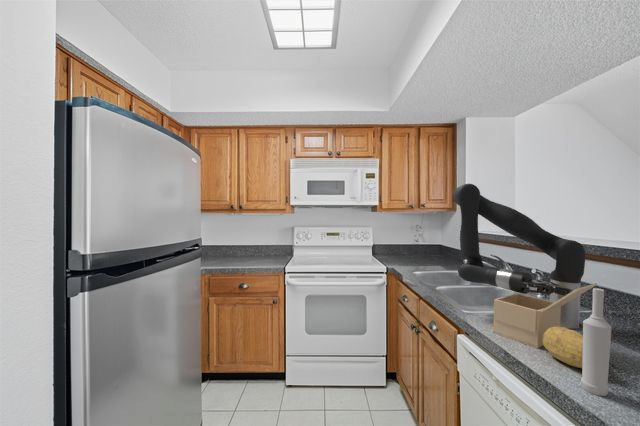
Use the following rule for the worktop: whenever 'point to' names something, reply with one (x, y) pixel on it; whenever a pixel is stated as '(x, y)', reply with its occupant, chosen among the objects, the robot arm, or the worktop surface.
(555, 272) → the robot arm
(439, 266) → the worktop surface
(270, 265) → the worktop surface
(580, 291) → the carton flap
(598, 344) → the bottle
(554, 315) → the carton
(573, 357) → the potato
